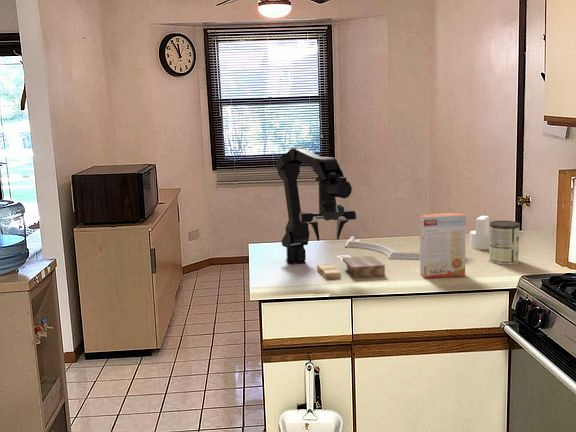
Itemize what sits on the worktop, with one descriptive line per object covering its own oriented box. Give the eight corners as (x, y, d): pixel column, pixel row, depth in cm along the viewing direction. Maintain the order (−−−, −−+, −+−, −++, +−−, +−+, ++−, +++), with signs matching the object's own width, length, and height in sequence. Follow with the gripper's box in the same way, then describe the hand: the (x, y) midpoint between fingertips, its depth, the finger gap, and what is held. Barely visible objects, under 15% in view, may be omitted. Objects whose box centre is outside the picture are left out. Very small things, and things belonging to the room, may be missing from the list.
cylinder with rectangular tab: (490, 250, 239) (491, 220, 237) (467, 248, 244) (467, 218, 242) (495, 245, 247) (496, 216, 245) (473, 243, 251) (474, 215, 249)
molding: (427, 259, 231) (427, 252, 230) (403, 264, 224) (403, 256, 224) (355, 241, 266) (354, 234, 265) (332, 245, 259) (332, 238, 259)
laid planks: (351, 278, 206) (351, 267, 206) (342, 267, 220) (342, 257, 219) (384, 276, 208) (384, 265, 207) (374, 266, 221) (374, 255, 221)
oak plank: (317, 271, 218) (317, 265, 217) (330, 270, 219) (330, 263, 218) (326, 280, 206) (326, 273, 206) (340, 279, 207) (340, 272, 207)
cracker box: (459, 272, 210) (461, 211, 206) (465, 276, 204) (466, 215, 200) (419, 273, 210) (419, 213, 206) (423, 278, 204) (424, 216, 200)
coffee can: (487, 257, 229) (489, 220, 226) (517, 258, 226) (518, 220, 224) (489, 264, 219) (490, 225, 217) (519, 265, 216) (521, 226, 214)
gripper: (303, 199, 199) (304, 246, 201) (359, 197, 201) (360, 243, 204) (298, 195, 210) (299, 239, 212) (352, 192, 212) (352, 237, 214)
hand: (328, 240), depth 210 cm, fingers open, 6 cm apart
